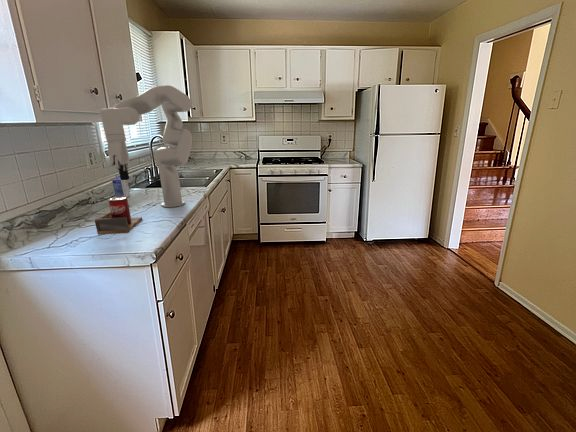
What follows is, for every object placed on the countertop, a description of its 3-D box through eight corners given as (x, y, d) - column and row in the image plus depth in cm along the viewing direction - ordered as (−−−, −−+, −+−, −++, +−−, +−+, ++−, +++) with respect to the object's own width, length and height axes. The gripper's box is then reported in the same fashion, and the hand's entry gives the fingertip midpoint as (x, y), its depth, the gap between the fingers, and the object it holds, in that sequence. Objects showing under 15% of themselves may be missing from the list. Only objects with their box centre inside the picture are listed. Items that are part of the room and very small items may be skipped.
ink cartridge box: (121, 196, 198) (117, 173, 193) (130, 195, 198) (126, 173, 194) (115, 199, 188) (110, 176, 184) (125, 199, 189) (120, 175, 185)
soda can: (125, 227, 130) (120, 200, 127) (109, 227, 131) (104, 200, 128) (135, 222, 137) (130, 196, 134) (120, 222, 138) (115, 196, 135)
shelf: (116, 221, 145) (113, 208, 143) (142, 219, 146) (140, 206, 144) (97, 234, 128) (94, 219, 126) (127, 232, 129) (125, 218, 127)
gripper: (114, 137, 139) (123, 176, 146) (98, 140, 125) (109, 184, 132) (131, 136, 140) (139, 175, 146) (118, 139, 126) (127, 182, 132)
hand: (125, 179), depth 139 cm, fingers closed
